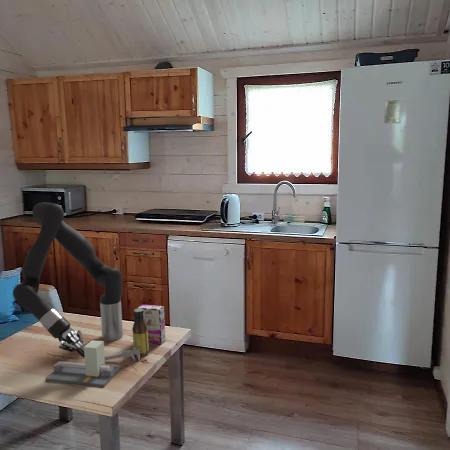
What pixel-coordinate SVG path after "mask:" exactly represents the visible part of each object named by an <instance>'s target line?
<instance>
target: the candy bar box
mask: <svg viewBox="0 0 450 450" xmlns="http://www.w3.org/2000/svg"><path fill="white" fill-rule="evenodd" d="M138 308H142V309H143V310H144V313H143V317H144V321H145V322H146V324H147V330H148V344H154V345H155V344H156V345H162V344H163V343H164V342H165V341H166V323H165V322H166V319H165V306H163V305H153V304H152V305H151V304H141V305H139V306H138V307H137V309H138Z"/></svg>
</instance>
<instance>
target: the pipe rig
mask: <svg viewBox="0 0 450 450" xmlns="http://www.w3.org/2000/svg"><path fill="white" fill-rule="evenodd" d="M52 366H53V372H52V373H50V374H49V375H48V376H47V377H45V382H52V383H53V382H54V383H61V384H63V383H64V384H72V385H80V386H81V385H82V386H91V387H102V388H105V387H106V386H107V385H108V384H109V382H111V380H113V378H114V377H115V376H116V375H117V374H118V373H119V371H121V369H122V368H121V366H118V365H108V364H105V366H102V365H101V366H100V371H103V372H102V373H101V374H100V375H99V376H98V377H96V376H86V370H85V362H77V361H57V362H56V363H55V364H54V365H52Z"/></svg>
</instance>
